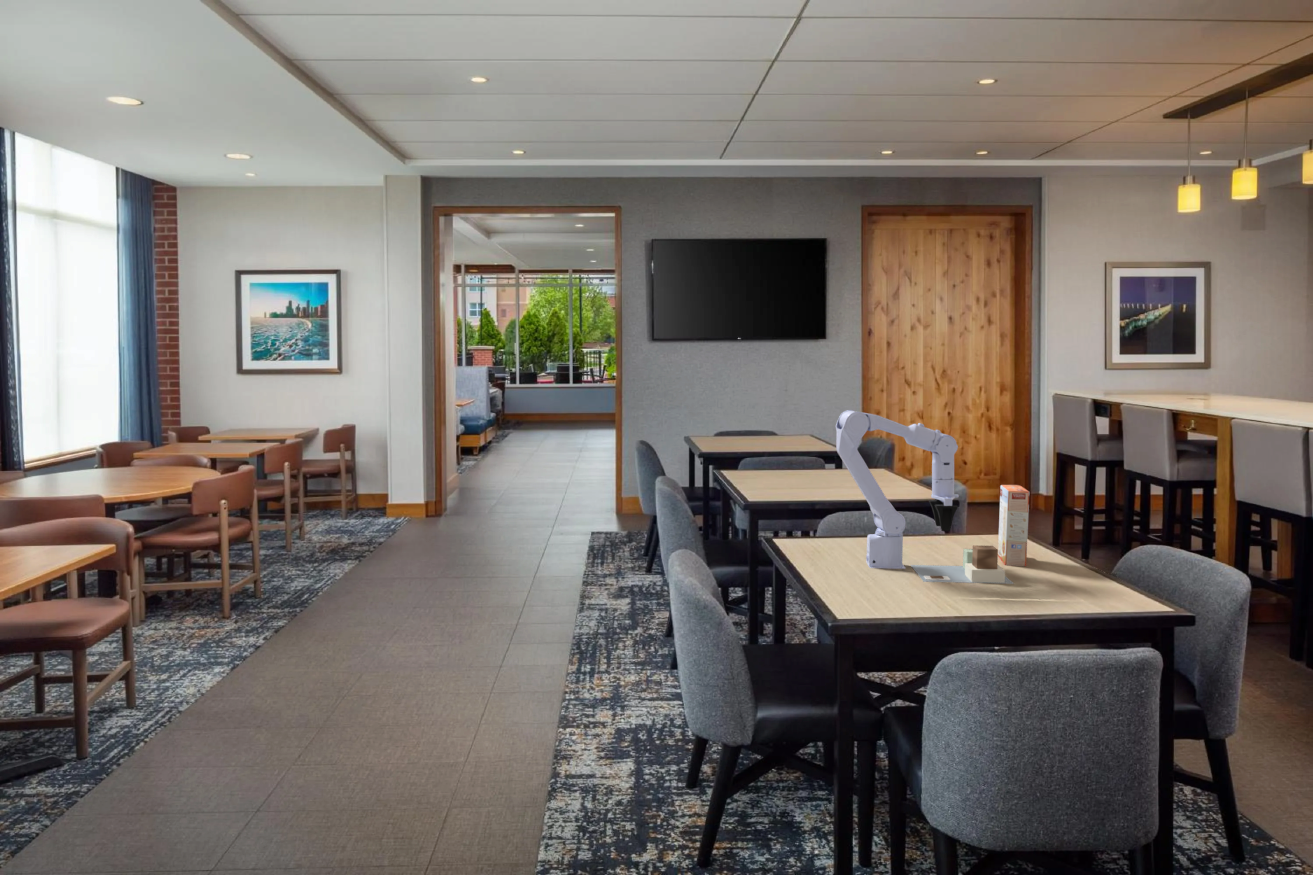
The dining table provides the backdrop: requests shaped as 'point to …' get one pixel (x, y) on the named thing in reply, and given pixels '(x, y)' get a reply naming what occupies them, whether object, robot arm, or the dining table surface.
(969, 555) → the sage block
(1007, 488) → the cracker box
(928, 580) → the board
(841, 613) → the dining table surface
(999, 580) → the cream base block
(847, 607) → the dining table surface
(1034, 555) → the dining table surface
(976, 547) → the walnut block
